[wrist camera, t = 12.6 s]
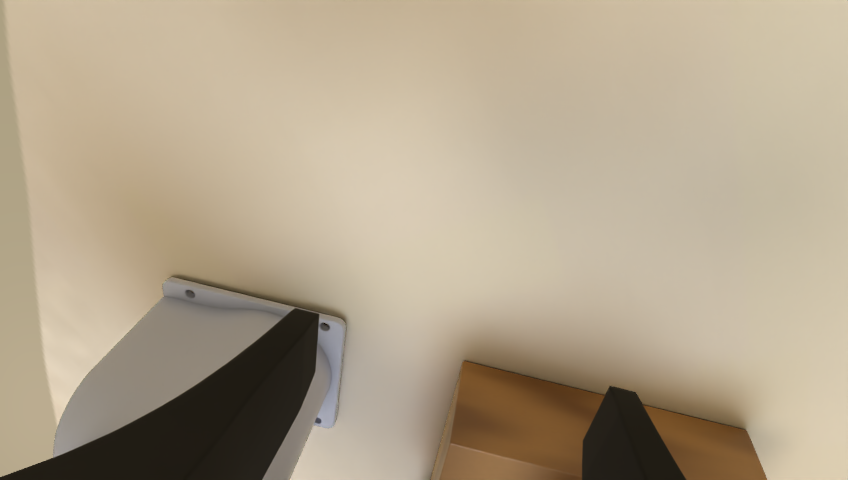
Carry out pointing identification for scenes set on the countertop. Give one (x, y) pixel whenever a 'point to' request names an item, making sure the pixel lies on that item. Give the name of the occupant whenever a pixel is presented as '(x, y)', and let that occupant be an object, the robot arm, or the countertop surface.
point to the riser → (564, 433)
